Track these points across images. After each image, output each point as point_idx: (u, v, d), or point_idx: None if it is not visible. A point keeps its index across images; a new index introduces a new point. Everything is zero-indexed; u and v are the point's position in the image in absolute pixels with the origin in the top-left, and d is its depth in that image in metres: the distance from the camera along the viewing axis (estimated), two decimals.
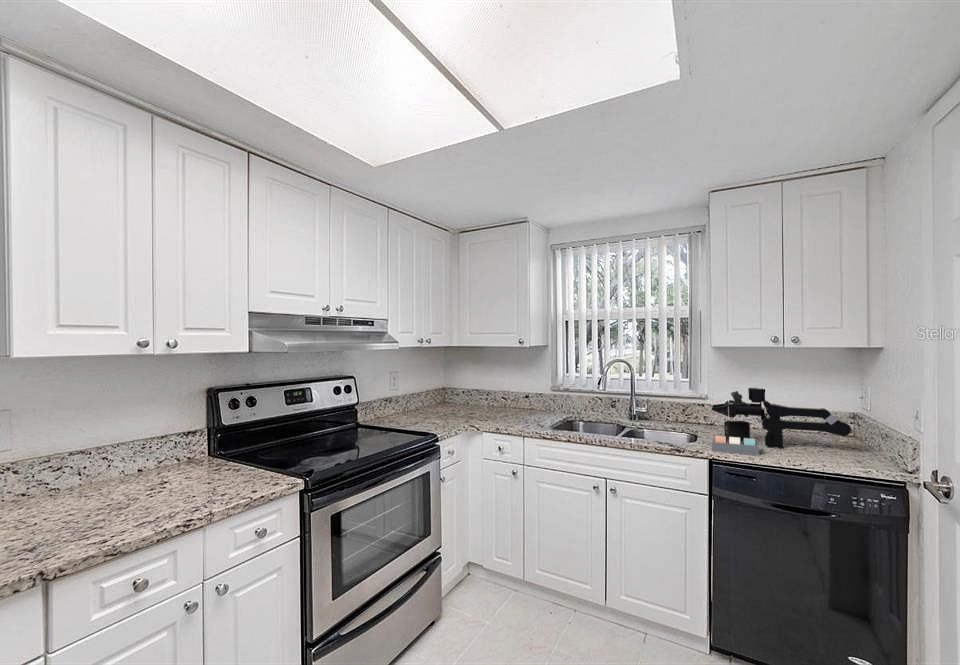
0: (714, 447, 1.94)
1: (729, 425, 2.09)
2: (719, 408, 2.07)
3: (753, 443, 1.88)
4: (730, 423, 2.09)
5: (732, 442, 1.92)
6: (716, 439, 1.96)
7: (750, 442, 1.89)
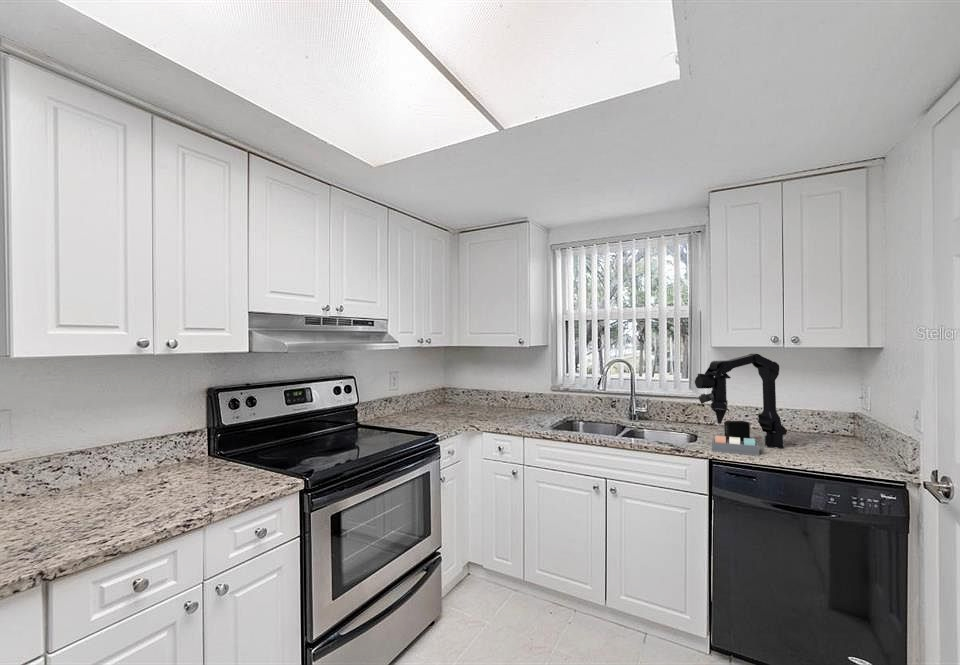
0: (714, 447, 1.94)
1: (729, 425, 2.09)
2: (718, 416, 1.93)
3: (753, 443, 1.88)
4: (730, 423, 2.09)
5: (732, 442, 1.92)
6: (716, 439, 1.96)
7: (750, 442, 1.89)
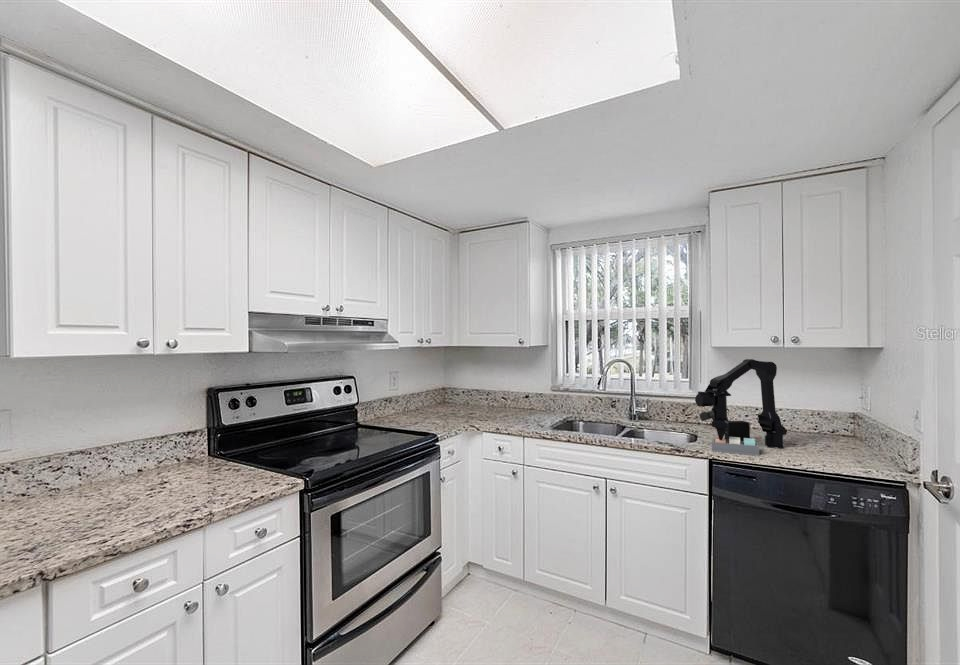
0: (714, 447, 1.94)
1: (729, 425, 2.09)
2: (719, 433, 1.96)
3: (753, 443, 1.88)
4: (730, 423, 2.09)
5: (732, 442, 1.92)
6: None
7: (750, 442, 1.89)
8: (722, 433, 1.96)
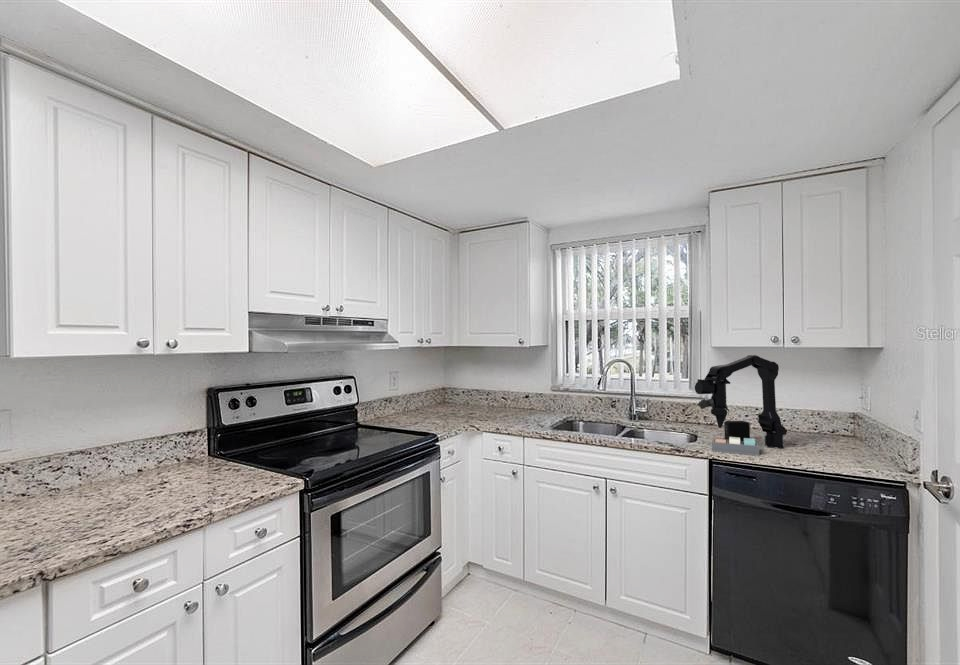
0: (714, 447, 1.94)
1: (729, 425, 2.09)
2: (718, 420, 1.96)
3: (753, 443, 1.88)
4: (730, 423, 2.09)
5: (732, 442, 1.92)
6: None
7: (750, 442, 1.89)
8: (721, 421, 1.96)
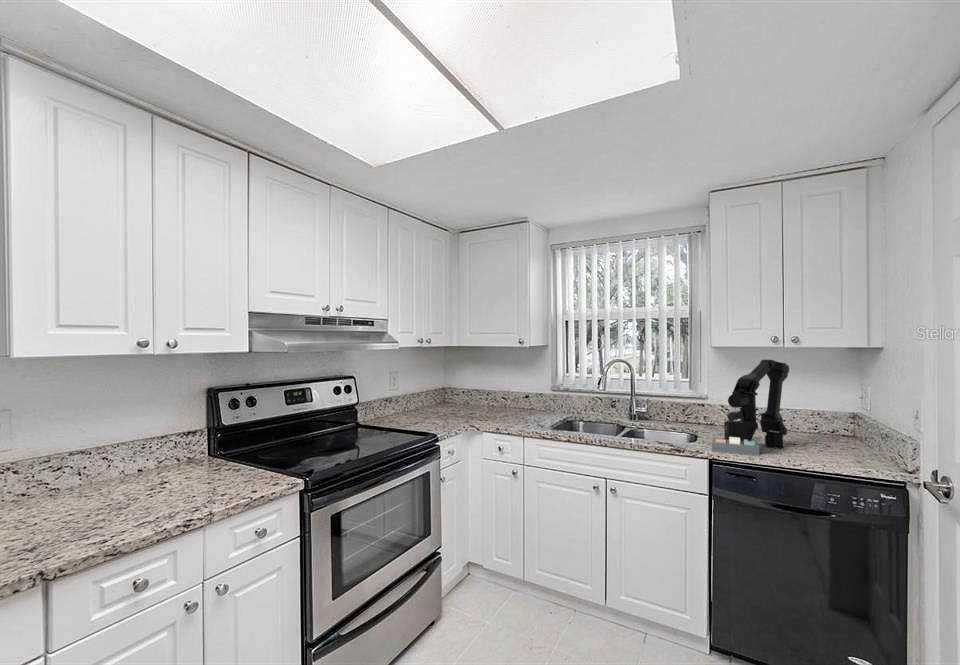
0: (714, 447, 1.94)
1: (729, 425, 2.09)
2: (748, 433, 1.91)
3: (753, 445, 1.88)
4: (730, 423, 2.09)
5: (732, 442, 1.92)
6: None
7: (750, 444, 1.89)
8: (751, 434, 1.90)
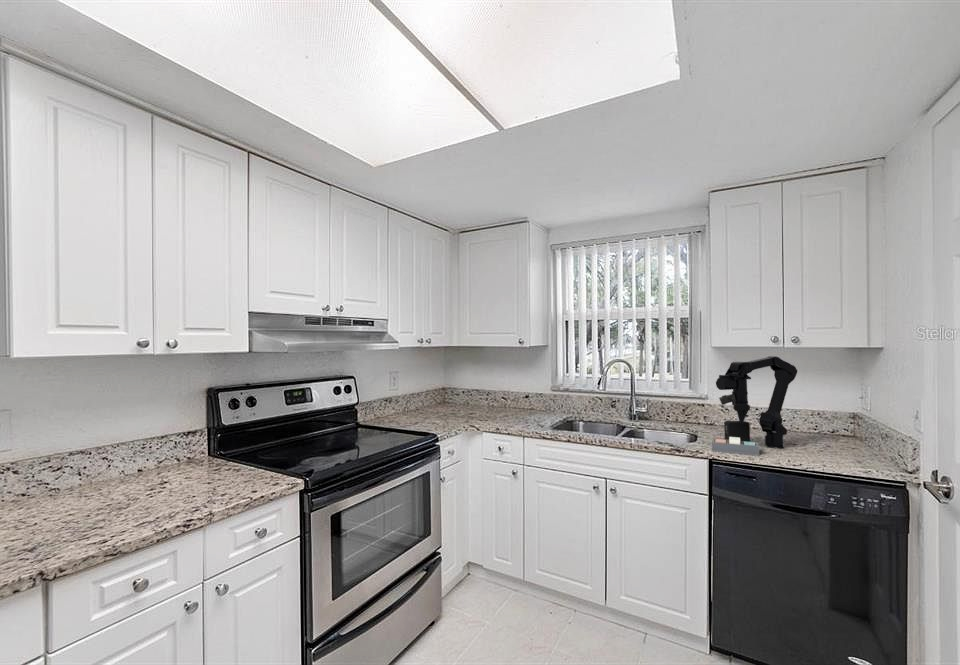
0: (714, 447, 1.94)
1: (729, 425, 2.09)
2: (740, 416, 1.97)
3: None
4: (730, 423, 2.09)
5: (732, 442, 1.92)
6: None
7: None
8: (743, 416, 1.96)
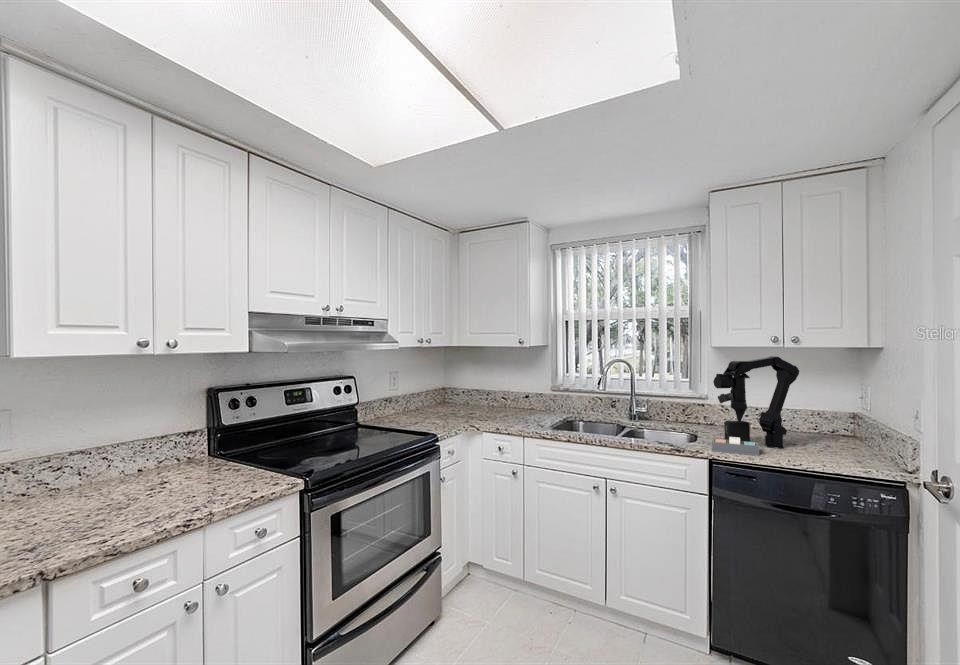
0: (714, 447, 1.94)
1: (729, 425, 2.09)
2: (737, 414, 1.99)
3: None
4: (730, 423, 2.09)
5: (732, 442, 1.92)
6: None
7: None
8: (741, 415, 1.98)
